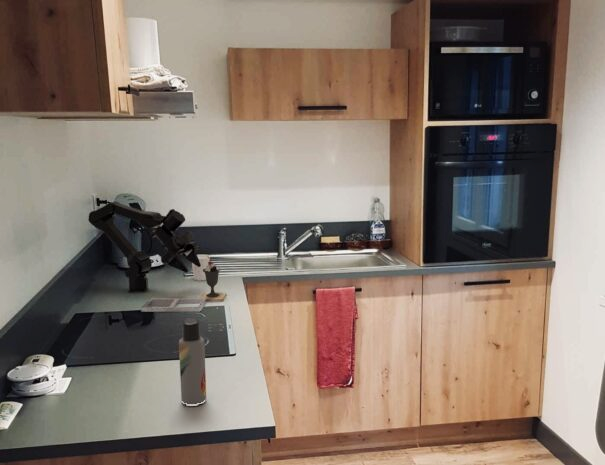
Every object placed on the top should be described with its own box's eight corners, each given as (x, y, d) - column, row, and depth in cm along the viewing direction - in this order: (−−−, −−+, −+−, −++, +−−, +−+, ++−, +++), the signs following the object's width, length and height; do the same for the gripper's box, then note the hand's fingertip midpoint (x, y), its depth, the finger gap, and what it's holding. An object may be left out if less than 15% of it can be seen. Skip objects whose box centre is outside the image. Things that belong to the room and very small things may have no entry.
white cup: (212, 276, 241) (212, 254, 240) (207, 281, 234) (207, 258, 232) (195, 276, 242) (194, 254, 240) (190, 281, 234) (189, 258, 233)
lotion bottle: (208, 395, 130) (205, 315, 127) (204, 407, 125) (201, 323, 121) (183, 396, 130) (180, 315, 127) (179, 407, 124) (175, 323, 121)
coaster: (198, 301, 205) (198, 299, 205) (203, 294, 214) (203, 292, 214) (222, 301, 205) (222, 299, 205) (226, 294, 214) (226, 292, 213)
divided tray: (141, 311, 193) (141, 307, 193) (150, 302, 204) (150, 298, 204) (200, 311, 193) (200, 307, 193) (206, 302, 204) (206, 298, 204)
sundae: (207, 292, 213) (205, 255, 210) (223, 293, 212) (222, 255, 209) (201, 297, 207) (199, 258, 204) (218, 298, 206) (216, 259, 203)
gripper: (166, 229, 200) (194, 261, 198) (193, 221, 217) (218, 251, 216) (149, 248, 204) (175, 280, 202) (176, 239, 221) (201, 268, 220)
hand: (194, 269), depth 210 cm, fingers open, 9 cm apart
